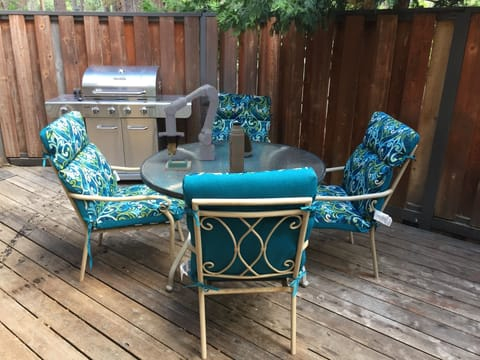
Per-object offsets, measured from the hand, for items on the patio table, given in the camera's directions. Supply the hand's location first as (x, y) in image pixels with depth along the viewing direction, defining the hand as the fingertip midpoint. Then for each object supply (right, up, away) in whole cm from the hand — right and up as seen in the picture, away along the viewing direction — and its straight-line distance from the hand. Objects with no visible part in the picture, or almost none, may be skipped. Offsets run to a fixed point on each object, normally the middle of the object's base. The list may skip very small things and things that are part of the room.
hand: (172, 148), depth 241 cm
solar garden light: (+21, +3, +34) cm, 40 cm away
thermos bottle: (+38, -15, -16) cm, 44 cm away
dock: (+5, -11, -6) cm, 14 cm away
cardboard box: (0, -3, +1) cm, 3 cm away
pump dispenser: (+43, -4, +15) cm, 46 cm away
